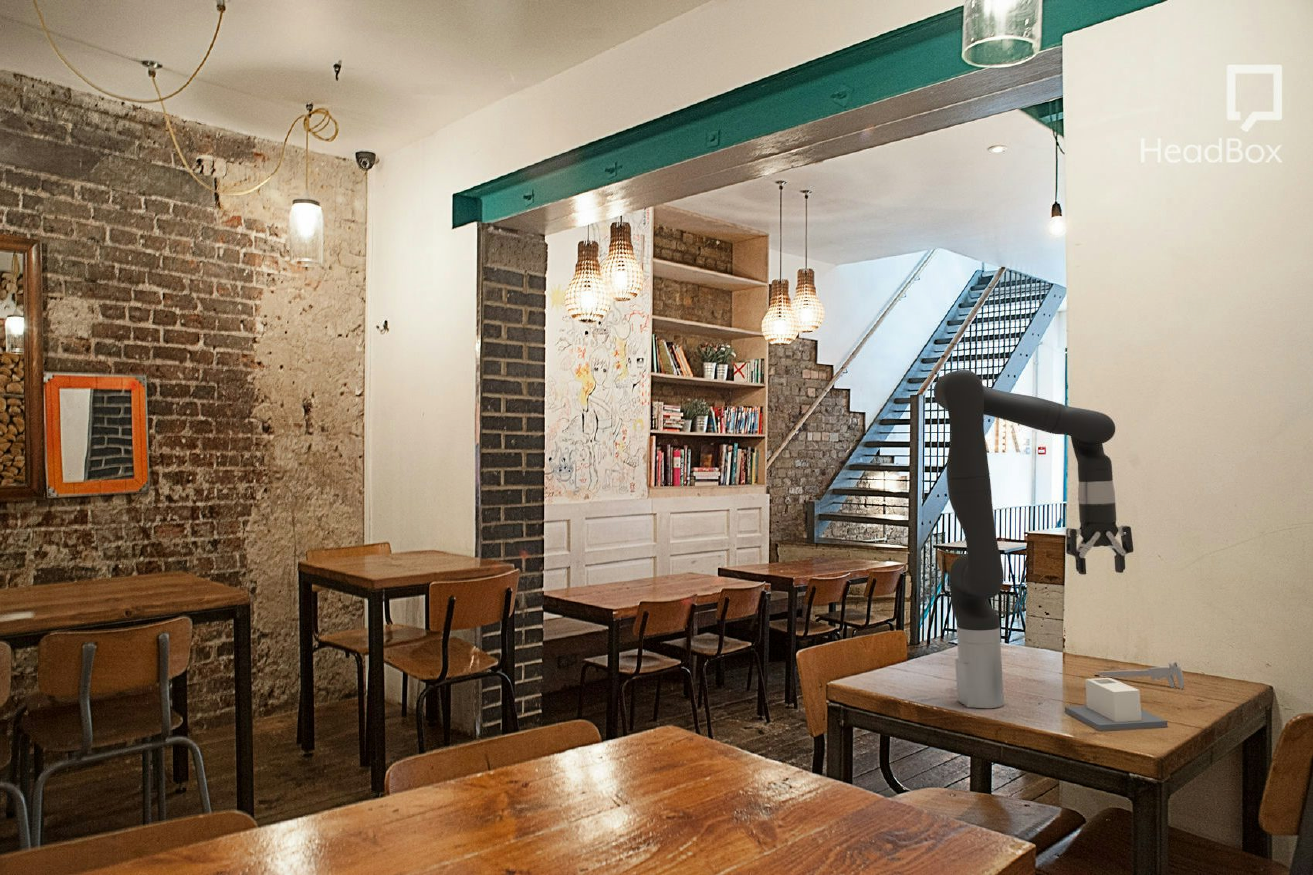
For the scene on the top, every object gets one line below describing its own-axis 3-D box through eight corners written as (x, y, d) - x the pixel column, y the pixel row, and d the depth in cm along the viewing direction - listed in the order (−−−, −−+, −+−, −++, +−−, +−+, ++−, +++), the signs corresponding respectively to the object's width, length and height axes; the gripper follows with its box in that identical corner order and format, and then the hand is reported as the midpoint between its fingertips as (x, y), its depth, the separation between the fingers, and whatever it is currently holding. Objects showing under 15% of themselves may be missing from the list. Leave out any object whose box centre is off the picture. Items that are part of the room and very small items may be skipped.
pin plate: (1099, 731, 181) (1097, 699, 181) (1064, 711, 195) (1063, 682, 195) (1167, 726, 182) (1165, 695, 182) (1128, 708, 196) (1126, 679, 196)
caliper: (1184, 689, 209) (1183, 662, 209) (1182, 690, 208) (1181, 663, 208) (1095, 676, 225) (1093, 650, 225) (1093, 676, 224) (1091, 651, 224)
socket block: (1115, 721, 183) (1113, 691, 183) (1086, 707, 194) (1085, 678, 194) (1141, 720, 183) (1139, 690, 183) (1111, 705, 194) (1109, 677, 194)
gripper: (1074, 503, 201) (1078, 577, 200) (1136, 500, 201) (1141, 573, 201) (1057, 502, 208) (1062, 572, 208) (1118, 499, 209) (1122, 569, 208)
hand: (1101, 573), depth 204 cm, fingers open, 8 cm apart
